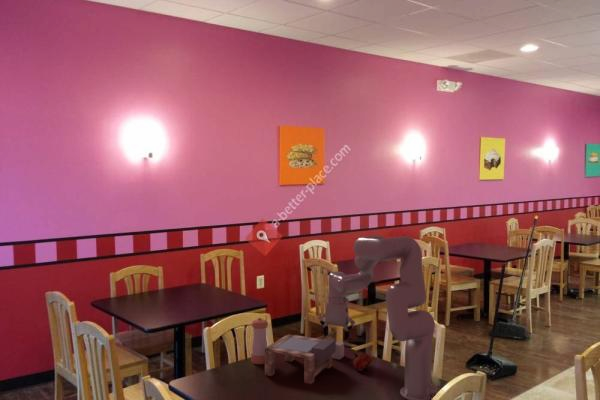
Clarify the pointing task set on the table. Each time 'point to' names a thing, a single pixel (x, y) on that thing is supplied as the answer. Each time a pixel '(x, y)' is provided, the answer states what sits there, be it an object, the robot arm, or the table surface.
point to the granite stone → (339, 351)
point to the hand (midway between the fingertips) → (336, 337)
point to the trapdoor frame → (309, 367)
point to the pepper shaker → (259, 341)
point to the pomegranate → (362, 361)
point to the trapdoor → (311, 347)
